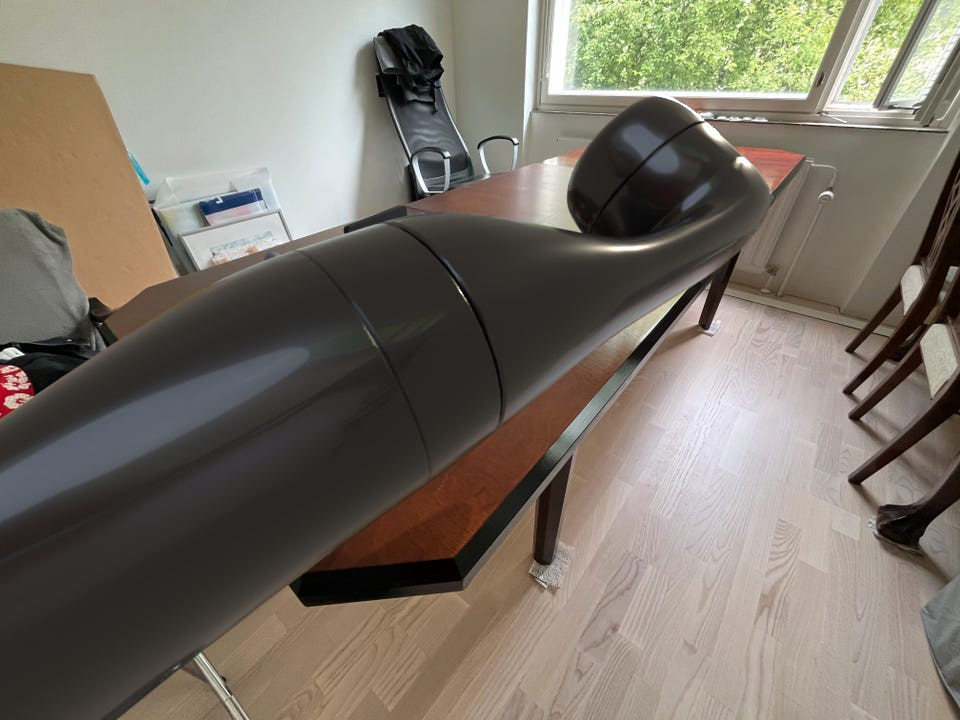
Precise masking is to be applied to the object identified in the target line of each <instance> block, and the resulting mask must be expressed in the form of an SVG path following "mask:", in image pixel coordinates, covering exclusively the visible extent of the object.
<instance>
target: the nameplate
mask: <svg viewBox="0 0 960 720" xmlns="http://www.w3.org/2000/svg"><path fill="white" fill-rule="evenodd" d="M408 215H409V214H408V209H407V207H406V205H401V204H399V205H395V206H393V207H390V208H388V209H385V210H383V211H380V212H378V213H375V214H373V215H370V216H367V217H364V218H362V219H359V220H357V221H354V222H351V223H349V224H346V225H344V227H343V234H347V233H350V232H353V231H356V230H359V229H362V228H365V227H369V226H372V225H375V224H379V223H381V222H385V221H389V220H392V219H396V218H400V217H404V216H408Z"/></svg>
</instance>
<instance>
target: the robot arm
mask: <svg viewBox="0 0 960 720" xmlns="http://www.w3.org/2000/svg"><path fill="white" fill-rule="evenodd" d="M771 202H772V196H771V191H770V187H769V185H768V183H767V181H766V179H765V178H764V176H763V175H762V173H761V172H760V171H759V170H758V168H757V167H756V166H755V165H753V163H752V162H750V161H749V160H748V159H747V158H746V157H745V156H744V155H743V154H742V153H741V152H740V151H739V150H737V149H736V148H735V146H734V145H732V144H731V143H730V142H729V141H728V140H726V139H725V138H724V137H723V136H722V135H721V134H720V133H719V132H718V131H717V130H716V129H715V128H713V126H711V125H710V124H709V123H707V122H706V120H705V119H703V118H702V117H701V116H700V115H699V114H698V113H696V112H695V111H694V110H692V109H691V108H690V107H688V106H687V105H685V104H683V103H681V102H680V101H678V100H676V99H675V98H673V97H670V96H667V95H658V94H655V95H650V96H645V97H643V98H641V99H639V100H636V101H635V102H632V103H631V104H629V105H627V106H626V107H625V108H623V109H622V110H621V111H619V112H618V113H617V114H616V115H615V116H613V118H611V119H610V120H609V121H608V122H606V124H605V125H604V126H603V127H602V128H601V129H600V130H599V132H597V134H596V135H595V136H594V137H593V139H592V140H591V141H590V142H589V143H588V145H587V146H586V147H585V148H584V150H583V152H582V153H581V155H580V156H579V158H578V160H577V161H576V163H575V166H574V168H573V170H572V172H571V174H570V177H569V181H568V184H567V190H566V206H567V209H568V212H569V215H570V216H571V219H572V220H573V222H574V223H575V225H576V227H577V228H578V230H579V231H577V230H576V231H575V230H572V229H571V230H570V229H566V228H560V227H556V226H550V225H545V224H541V223H540V224H539V223H535V222H531V221H526V220H521V219H516V218H510V217H504V216H497V215H492V214H481V213H471V212H470V213H469V212H460V211H426V212H420V213H413V214H407V215H408V216H404V217H400V218H396V219H392V220H389V221H385V222H381V223H379V224H375V225H372V226H369V227H365V228H362V229H359V230H356V231H353V232H350V233H347V234H344V233H343V234H340V235H337V236H334V237H331V238H328V239H325V240H321V241H319V242H316V243H312V244H309V245H306V246H302V247H300V248H296V249H294V250H292V251H291V250H290V251H287V252H285V253H281V254H279V256H276V257H273V258H270V259H268V260H265V261H264V260H263V261H260V262H257V263H256V264H253V265H250V266H248V267H246V268H243V269H241V270H239V271H237V272H234V273H232V274H230V275H228V276H225V277H223V278H221V279H220V280H217V281H215V282H214V283H212V284H209V285H207V286H206V287H204V288H202V289H200V290H199V291H197V292H195V293H193V294H192V295H191V294H190V296H187V297H186V298H184V299H183V300H181V301H179V302H178V303H176V304H174V305H173V306H171V307H169V308H168V309H166V310H163V312H161V313H160V314H158V315H156V316H155V317H153V318H152V319H150V320H148V321H147V322H146V323H143V324H142V325H141V326H139V327H138V328H136V329H135V330H133V331H131V332H130V333H127V334H126V335H124V336H123V337H121V338H120V339H118V340H117V341H115V342H113V343H112V344H110V345H109V346H107V347H105V348H104V349H102V350H101V351H99V352H98V353H96V354H95V355H93V356H92V357H91V358H89V359H87V360H86V361H84V362H82V363H81V364H80V365H77V367H75V368H73V369H72V370H71V371H69V372H67V373H66V374H65V375H63V376H62V377H60V378H58V379H57V380H56V381H54V382H53V383H51V384H50V385H49V386H46V387H45V388H43V390H41V391H39V392H38V393H37V394H35V395H34V396H32V397H31V398H30V399H27V400H26V401H24V402H23V403H22V404H20V405H19V406H17V407H16V408H15V409H13V410H12V411H10V412H9V413H7V414H6V415H4V416H3V417H1V418H0V720H119V719H120V718H121V717H122V716H123V715H125V714H126V713H127V712H128V711H129V710H131V709H132V708H133V707H134V706H136V705H137V704H138V703H139V702H141V701H142V700H143V699H144V698H146V697H147V696H148V695H149V694H150V693H152V692H153V691H154V690H155V689H157V688H158V687H159V686H160V685H161V684H163V683H164V682H166V680H168V679H169V678H171V676H173V675H174V674H176V673H177V672H178V671H179V670H180V669H182V668H183V667H184V666H186V665H187V664H189V662H191V661H193V659H195V658H196V657H198V656H199V655H200V654H201V653H202V652H204V651H205V650H207V649H208V648H209V647H211V645H213V644H214V643H216V642H217V641H218V640H219V639H221V638H222V637H224V635H226V634H227V633H229V632H230V631H231V630H233V628H235V627H236V626H238V625H240V623H241V622H243V621H244V620H245V619H246V618H248V617H249V616H250V615H252V614H253V613H254V612H256V611H257V610H258V609H259V608H260V607H262V606H263V605H265V604H266V603H267V602H269V600H271V599H273V598H274V597H275V596H276V595H278V594H279V593H280V592H282V591H283V590H284V589H285V588H287V587H288V586H289V585H290V584H292V583H293V582H294V581H296V580H297V579H298V578H300V577H301V576H303V574H305V573H306V572H308V571H310V569H312V568H313V567H314V566H316V565H317V564H318V563H320V562H321V561H322V560H324V559H325V558H326V557H328V556H329V555H331V554H332V553H333V552H335V551H336V550H337V549H339V548H340V547H341V546H342V545H344V544H346V543H347V542H348V541H350V540H351V539H352V538H353V537H356V536H357V535H358V534H359V533H360V532H362V531H364V530H365V529H366V528H368V527H369V526H370V525H372V524H373V523H375V522H376V521H377V520H379V519H380V518H382V517H383V516H385V515H387V513H389V512H390V511H392V510H393V509H394V508H396V507H397V506H399V505H400V504H402V503H403V502H405V501H406V500H407V499H409V498H410V497H412V496H413V495H414V494H416V493H417V492H419V491H420V490H421V489H423V488H424V487H425V486H427V485H429V483H431V482H433V481H434V480H435V479H436V478H438V477H439V476H440V475H441V474H442V473H444V472H446V471H447V470H448V469H450V468H451V467H452V466H453V465H454V464H456V463H457V462H459V461H460V460H461V459H462V458H464V457H465V456H466V455H468V454H470V453H471V452H472V451H473V450H474V449H475V448H477V447H478V446H479V445H481V444H482V443H484V442H485V441H486V440H487V439H489V438H490V437H491V436H492V435H494V434H495V433H497V432H498V431H499V430H501V428H502V427H504V426H505V425H506V424H507V423H508V422H510V421H511V420H512V419H514V418H515V417H516V416H517V415H518V414H520V413H521V412H522V411H523V410H525V409H526V408H527V407H529V405H531V404H532V403H533V402H534V401H535V400H537V399H538V398H539V397H540V396H542V395H543V394H544V393H546V391H548V390H549V389H550V388H551V387H553V386H554V385H555V384H556V383H557V382H559V381H560V380H561V379H562V378H563V377H565V376H566V375H567V374H568V373H569V372H571V371H572V370H573V369H574V368H576V367H577V366H578V365H579V364H581V362H583V361H584V360H586V359H587V358H588V357H590V356H591V354H593V353H594V352H595V351H596V350H598V349H599V348H600V347H602V346H603V345H604V344H606V343H607V342H608V341H610V340H611V339H612V338H614V337H615V336H616V335H618V334H620V333H621V332H622V331H623V330H624V331H625V329H627V328H629V327H630V326H632V325H634V324H635V323H637V322H638V321H639V320H641V319H643V318H645V317H646V316H647V315H649V314H651V313H652V312H654V311H656V310H657V309H658V308H660V307H662V306H663V305H665V304H666V303H668V302H670V301H671V300H672V299H674V298H675V297H678V296H679V295H681V294H682V293H684V292H686V291H687V290H689V289H690V288H692V287H693V286H695V285H696V284H698V283H699V282H701V281H702V280H704V279H706V278H707V277H708V276H710V275H711V274H713V273H714V272H715V271H717V270H718V269H720V268H721V267H722V266H724V265H725V264H726V263H727V262H728V261H730V260H731V259H732V258H733V257H734V256H735V255H737V254H738V253H739V252H740V251H741V250H742V249H743V248H744V247H745V246H746V244H748V243H749V242H750V240H751V239H752V238H753V237H754V236H755V234H756V233H757V232H758V231H759V230H760V228H761V226H762V225H763V223H764V221H765V219H766V218H767V216H768V213H769V210H770V207H771V204H772V203H771Z"/></svg>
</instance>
